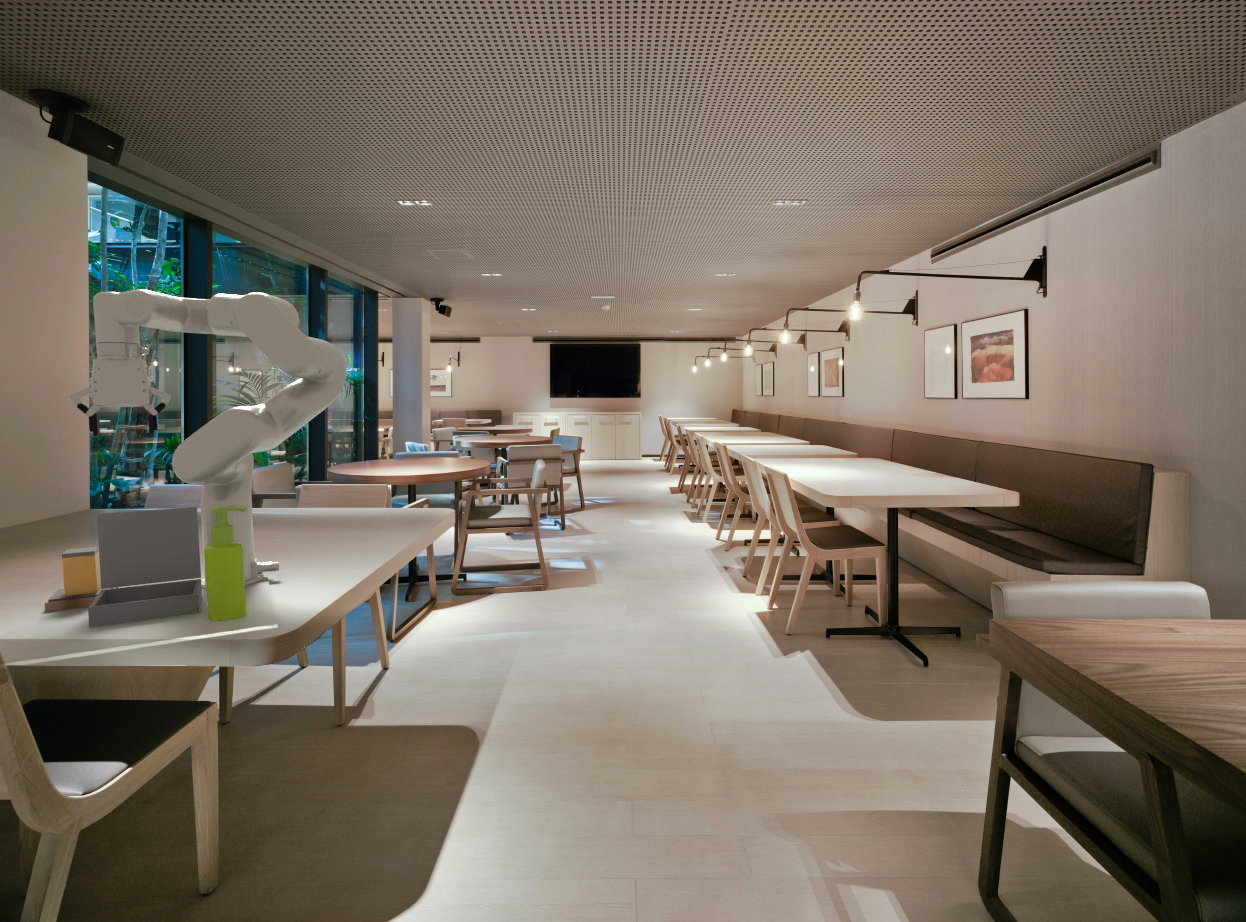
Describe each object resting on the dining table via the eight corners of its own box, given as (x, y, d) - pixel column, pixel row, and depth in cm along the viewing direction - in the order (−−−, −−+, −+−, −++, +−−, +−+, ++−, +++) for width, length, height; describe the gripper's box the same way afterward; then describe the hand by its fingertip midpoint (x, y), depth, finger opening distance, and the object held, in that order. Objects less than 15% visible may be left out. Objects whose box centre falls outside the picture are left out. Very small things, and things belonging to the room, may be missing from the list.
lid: (200, 577, 140) (201, 576, 141) (196, 506, 140) (197, 506, 141) (101, 588, 132) (102, 588, 134) (96, 513, 132) (98, 513, 134)
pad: (118, 594, 144) (118, 582, 144) (111, 606, 136) (110, 593, 136) (57, 602, 140) (56, 589, 139) (45, 614, 131) (44, 600, 131)
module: (101, 586, 141) (98, 546, 140) (97, 592, 137) (94, 551, 136) (70, 590, 138) (67, 549, 138) (64, 595, 134) (61, 554, 134)
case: (202, 598, 140) (201, 578, 140) (199, 616, 128) (198, 594, 128) (102, 611, 133) (101, 590, 132) (89, 631, 120) (87, 607, 120)
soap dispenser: (249, 621, 124) (242, 508, 123) (204, 625, 122) (197, 510, 121) (256, 612, 130) (249, 503, 128) (213, 616, 128) (206, 505, 126)
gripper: (169, 355, 156) (174, 433, 157) (71, 353, 148) (77, 435, 149) (166, 352, 150) (171, 434, 151) (63, 350, 141) (70, 436, 143)
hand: (124, 434), depth 150 cm, fingers open, 9 cm apart
